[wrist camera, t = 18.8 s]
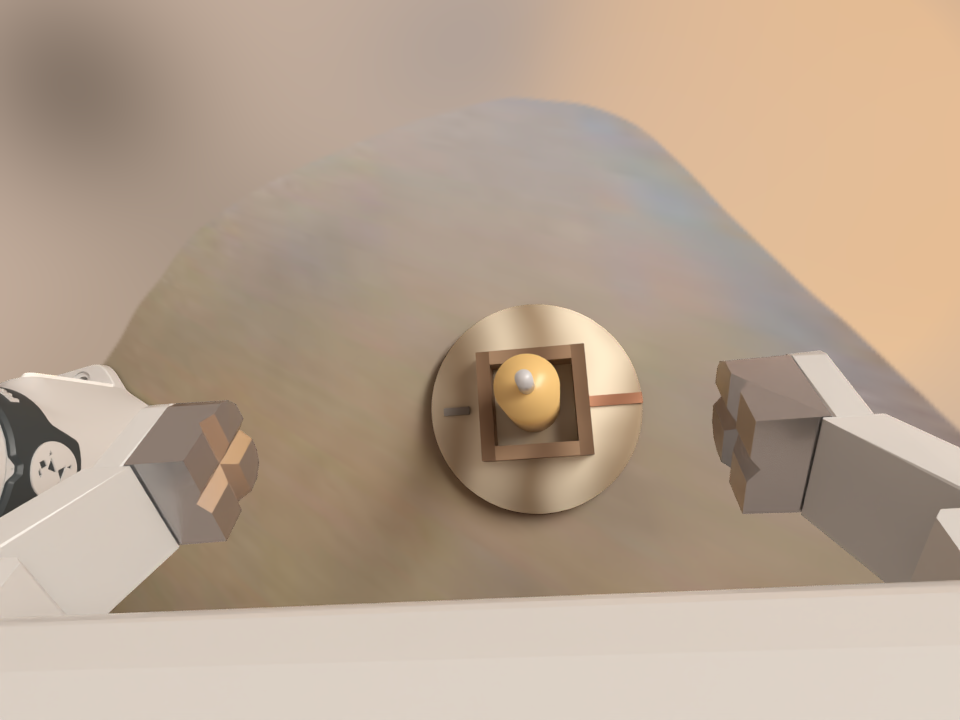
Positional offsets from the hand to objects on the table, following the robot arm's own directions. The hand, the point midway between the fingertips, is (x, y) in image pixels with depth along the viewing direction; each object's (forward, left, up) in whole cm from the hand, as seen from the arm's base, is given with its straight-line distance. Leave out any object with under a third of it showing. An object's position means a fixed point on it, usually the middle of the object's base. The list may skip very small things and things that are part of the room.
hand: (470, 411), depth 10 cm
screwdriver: (0, +4, -36) cm, 36 cm away
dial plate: (0, +4, -37) cm, 38 cm away
